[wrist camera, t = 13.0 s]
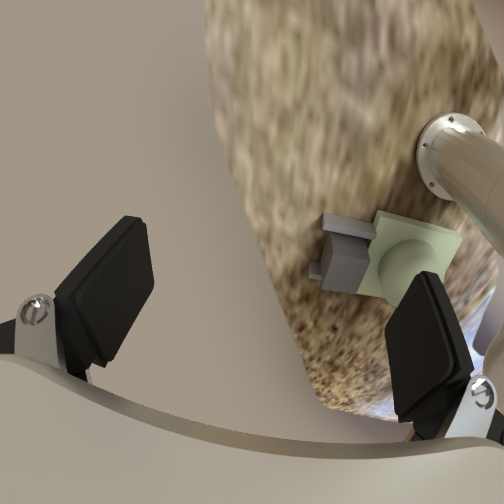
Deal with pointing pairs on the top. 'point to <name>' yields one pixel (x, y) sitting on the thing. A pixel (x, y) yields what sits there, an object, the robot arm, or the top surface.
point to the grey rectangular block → (343, 263)
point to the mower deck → (399, 233)
